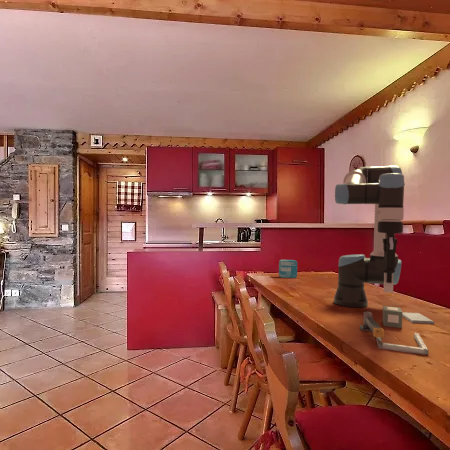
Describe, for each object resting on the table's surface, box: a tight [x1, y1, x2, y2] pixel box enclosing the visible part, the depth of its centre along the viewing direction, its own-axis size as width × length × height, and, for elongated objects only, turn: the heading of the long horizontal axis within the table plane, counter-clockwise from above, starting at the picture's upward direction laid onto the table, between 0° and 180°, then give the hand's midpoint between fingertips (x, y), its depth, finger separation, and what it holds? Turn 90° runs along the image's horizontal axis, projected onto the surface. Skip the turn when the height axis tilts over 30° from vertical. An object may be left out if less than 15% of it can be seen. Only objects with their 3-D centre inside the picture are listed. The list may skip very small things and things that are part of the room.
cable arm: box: [366, 316, 385, 339], centre depth 114 cm, size 16×3×2 cm, turn 168°
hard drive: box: [402, 311, 435, 325], centre depth 138 cm, size 2×8×12 cm
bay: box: [375, 332, 429, 356], centre depth 110 cm, size 16×13×2 cm
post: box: [359, 311, 373, 333], centre depth 123 cm, size 5×5×6 cm
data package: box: [278, 259, 298, 279], centre depth 235 cm, size 12×4×12 cm, turn 87°
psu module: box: [382, 305, 403, 329], centre depth 130 cm, size 7×6×6 cm
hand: (388, 292), depth 113 cm, fingers closed
